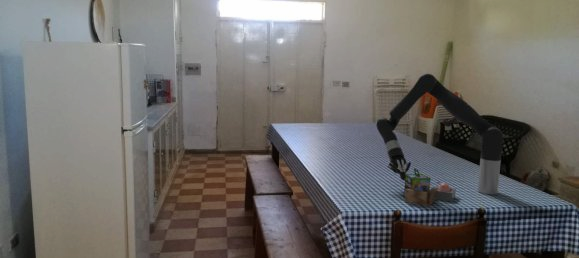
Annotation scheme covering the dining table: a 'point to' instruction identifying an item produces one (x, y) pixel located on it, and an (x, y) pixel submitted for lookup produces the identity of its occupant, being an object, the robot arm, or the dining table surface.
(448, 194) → the dome collar
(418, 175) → the chalk box
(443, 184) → the dome
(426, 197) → the corner fence
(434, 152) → the dining table surface
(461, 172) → the dining table surface
